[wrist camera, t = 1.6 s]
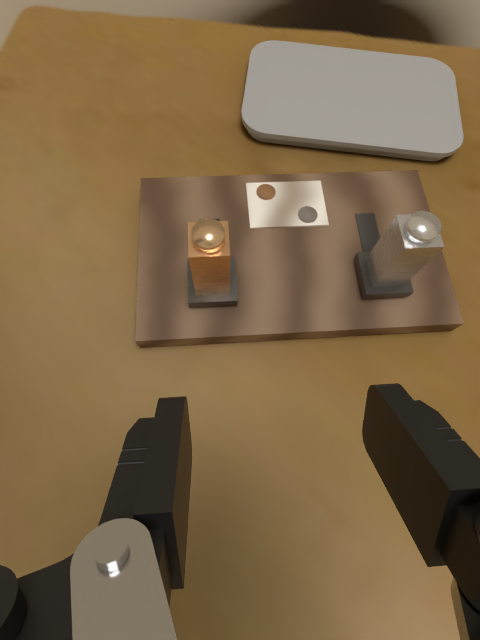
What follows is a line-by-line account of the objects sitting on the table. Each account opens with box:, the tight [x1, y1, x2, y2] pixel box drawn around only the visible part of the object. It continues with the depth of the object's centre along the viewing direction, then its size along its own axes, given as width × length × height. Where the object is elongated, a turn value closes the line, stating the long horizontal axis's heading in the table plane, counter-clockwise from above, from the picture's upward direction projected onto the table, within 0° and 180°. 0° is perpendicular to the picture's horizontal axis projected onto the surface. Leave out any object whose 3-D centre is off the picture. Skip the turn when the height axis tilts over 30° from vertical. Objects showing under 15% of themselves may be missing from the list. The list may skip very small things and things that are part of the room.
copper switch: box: [187, 218, 238, 307], centre depth 30 cm, size 4×4×8 cm
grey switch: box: [354, 211, 444, 299], centre depth 31 cm, size 4×4×8 cm
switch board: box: [135, 170, 464, 348], centre depth 37 cm, size 30×18×2 cm, turn 94°
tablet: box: [241, 40, 463, 161], centre depth 45 cm, size 16×26×2 cm, turn 83°
